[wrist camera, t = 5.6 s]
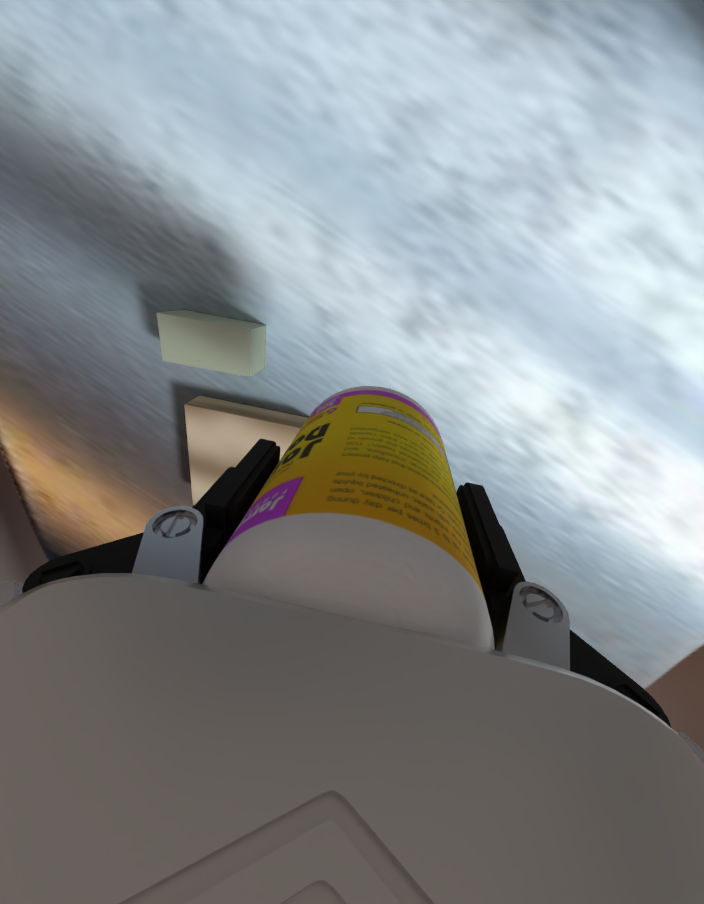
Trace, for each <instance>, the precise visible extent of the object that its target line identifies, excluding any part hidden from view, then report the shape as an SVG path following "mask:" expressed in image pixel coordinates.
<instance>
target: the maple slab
mask: <svg viewBox="0 0 704 904" xmlns="http://www.w3.org/2000/svg"><path fill="white" fill-rule="evenodd" d="M184 406H185V418H186V429H187V440H188V452H189V463H190V475H191V486H192V497H193V505H195V504H196V503H197V502H198V501H199V500H200V499H201V497H202V496H203V495H204V494H205V493H206V492H207V491H208V490H209V489H210V487H211V486H212V485H213V484H214V483H215V482H216V481H217V480H218V479H219V477H220V476H221V475H222V474H223V473H224V472H225V471H226V470H227V469H228V468H229V467H236V466H237V465H238V463H239V462H240V461H241V460H242V459H243V458H244V456H245V455H246V454H247V453H248V452H249V451H250V450H251V448H252V447H253V446H254V445H255V444H256V443H257V441H258V440H259V439H266V440H270V441H275V442H276V446H280V460H281V458H282V457H283V455H284V453H285V452H286V450H287V449H288V448H289V446H290V445H291V443H292V442H293V440H294V438H295V437H296V435H297V434H298V432H299V431H300V429H301V428H302V426H303V425H304V423H305V421H306V420H307V419H308V418H307V417H302V416H298V415H293V414H288V413H283V412H278V411H273V410H268V409H264V408H259V407H254V406H249V405H244V404H239V403H234V402H229V401H225V400H220V399H215V398H210V397H205V396H198V397H196V398H194V399H193V400H191V401H189V402H188V403H186V404H184Z"/></svg>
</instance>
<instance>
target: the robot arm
mask: <svg viewBox="0 0 704 904" xmlns="http://www.w3.org/2000/svg"><path fill="white" fill-rule="evenodd" d="M279 462H280V446H276V442H275V441H270V440H266V439H259V440H258V441H257V443H256V444H255V445H254V446H253V447H252V448H251V450H250V451H249V452H248V453H247V454H246V455H245V456H244V458H243V459H242V460H241V461H240V462H239V463H238V465H237V466H236V467H229V468H228V469H227V470H226V471H225V472H224V473H223V474H222V475H221V476H220V477H219V479H218V480H217V481H216V482H215V483H214V484H213V485H212V486H211V487H210V489H209V490H208V491H207V492H206V493H205V494H204V495H203V496H202V497H201V499H200V500H199V501H198V502H197V503H196V504H195V505H194V506H193V507H192V508H190V507H181V506H178V507H172V508H168V509H165V510H162V511H160V512H158V513H157V514H155V515H154V516H153V517H152V518H150V519H149V521H148V523H147V524H146V527H145V530H144V533H140V534H137V535H133V536H130V537H126V538H123V539H120V540H116V541H113V542H109V543H106V544H102V545H99V546H96V547H92V548H89V549H85V550H82V551H78V552H75V553H71V554H68V555H65V556H61V557H59V558H56V559H53V560H51V561H49V562H47V563H45V564H44V565H42V566H40V567H39V568H38V569H36V570H35V571H34V572H32V573H31V574H30V575H29V577H28V578H27V579H26V581H24V582H21V583H18V584H17V583H16V582H15V579H14V580H11V581H8V582H5V583H2V584H0V904H704V751H703V750H702V749H701V748H700V747H699V746H698V745H697V744H695V743H694V742H693V741H692V740H691V739H689V738H688V737H687V736H686V735H685V734H684V733H683V732H680V733H679V734H677V733H676V732H675V731H674V730H673V729H672V728H671V726H670V723H669V720H668V718H667V716H666V715H665V713H664V712H663V710H662V708H661V707H660V706H659V704H658V703H657V702H656V701H655V700H654V699H653V697H652V696H650V694H649V693H647V692H646V691H645V690H644V689H643V688H642V687H641V686H640V685H638V684H637V683H636V682H635V681H633V680H632V679H631V678H630V677H628V676H627V675H626V674H625V673H623V672H622V671H621V670H620V669H618V668H617V667H616V666H615V665H613V664H612V663H611V662H610V661H609V660H607V659H606V658H605V657H604V656H602V655H601V654H600V653H599V652H597V651H596V650H595V649H594V648H592V647H591V646H590V645H589V644H587V643H586V642H585V641H584V640H582V639H581V638H580V637H579V636H577V635H576V634H575V633H574V632H572V631H571V630H570V619H569V615H568V612H567V610H566V608H565V606H564V605H563V603H562V602H561V601H560V600H559V599H558V598H557V597H556V596H555V595H554V594H553V593H552V592H550V591H549V590H547V589H546V588H544V587H542V586H540V585H538V584H535V583H532V582H526V581H525V579H524V576H523V574H522V572H521V569H520V567H519V565H518V562H517V560H516V558H515V555H514V553H513V551H512V549H511V546H510V544H509V542H508V539H507V537H506V535H505V532H504V530H503V528H502V527H501V526H500V525H499V522H498V520H497V518H496V515H495V513H494V511H493V508H492V506H491V503H490V501H489V499H488V496H487V494H486V492H485V489H484V487H483V486H481V485H477V484H472V483H466V484H465V485H464V486H463V485H460V486H459V488H458V490H457V493H456V494H457V497H458V502H459V506H460V509H461V513H462V517H463V521H464V524H465V528H466V532H467V536H468V539H469V543H470V547H471V551H472V554H473V558H474V562H475V565H476V569H477V573H478V576H479V580H480V583H481V587H482V590H483V594H484V597H485V601H486V604H487V608H488V613H489V617H490V621H491V624H492V628H493V636H494V646H495V650H492V649H488V648H484V647H480V646H475V645H471V644H467V643H462V642H458V641H454V640H449V639H445V638H441V637H436V636H432V635H428V634H424V633H419V632H415V631H411V630H406V629H401V628H396V627H392V626H387V625H382V624H378V623H373V622H369V621H364V620H360V619H355V618H351V617H346V616H342V615H338V614H333V613H329V612H325V611H321V610H317V609H313V608H308V607H304V606H300V605H295V604H291V603H286V602H281V601H277V600H272V599H268V598H263V597H259V596H254V595H250V594H245V593H240V592H236V591H231V590H227V589H222V588H217V587H212V586H207V585H202V583H203V581H204V580H205V578H206V576H207V574H208V572H209V570H210V569H211V567H212V565H213V564H214V562H215V561H216V559H217V558H218V556H219V554H220V553H221V551H222V550H223V548H224V547H225V545H226V544H227V542H228V541H229V539H230V538H231V536H232V535H233V533H234V532H235V530H236V529H237V527H238V526H239V524H240V522H241V521H242V519H243V518H244V516H245V515H246V513H247V511H248V510H249V508H250V507H251V505H252V504H253V502H254V500H255V499H256V497H257V496H258V494H259V493H260V491H261V489H262V488H263V486H264V485H265V483H266V481H267V480H268V478H269V477H270V475H271V474H272V472H273V471H274V469H275V468H276V466H277V465H278V463H279Z"/></svg>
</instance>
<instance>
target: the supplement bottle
mask: <svg viewBox="0 0 704 904" xmlns="http://www.w3.org/2000/svg"><path fill="white" fill-rule="evenodd" d="M202 585H207V586H212V587H217V588H222V589H227V590H231V591H236V592H240V593H245V594H250V595H254V596H259V597H263V598H268V599H272V600H277V601H281V602H286V603H291V604H295V605H300V606H304V607H308V608H313V609H317V610H321V611H325V612H329V613H333V614H338V615H342V616H346V617H351V618H355V619H360V620H364V621H369V622H373V623H378V624H382V625H387V626H392V627H396V628H401V629H406V630H411V631H415V632H419V633H424V634H428V635H432V636H436V637H441V638H445V639H449V640H454V641H458V642H462V643H467V644H471V645H475V646H480V647H484V648H488V649H492V650H495V646H494V636H493V628H492V624H491V621H490V617H489V613H488V608H487V604H486V601H485V597H484V594H483V590H482V587H481V583H480V580H479V576H478V573H477V569H476V565H475V562H474V558H473V554H472V551H471V547H470V543H469V539H468V536H467V532H466V528H465V524H464V521H463V517H462V513H461V509H460V506H459V502H458V497H457V494H456V490H455V486H454V482H453V479H452V475H451V471H450V467H449V464H448V461H447V457H446V453H445V449H444V445H443V442H442V439H441V436H440V433H439V430H438V428H437V426H436V424H435V422H434V421H433V419H432V418H431V416H430V415H429V414H428V413H427V411H426V410H425V409H424V408H423V407H422V406H421V405H420V404H418V403H417V402H416V401H414V400H413V399H411V398H410V397H408V396H406V395H404V394H402V393H400V392H397V391H394V390H391V389H388V388H383V387H375V386H361V387H354V388H350V389H346V390H343V391H341V392H338V393H336V394H334V395H332V396H330V397H329V398H327V399H326V400H324V401H323V402H322V403H321V404H319V405H318V406H317V407H316V408H315V409H314V411H313V412H312V413H311V415H310V416H309V417H308V419H307V420H306V421H305V423H304V425H303V426H302V428H301V429H300V431H299V432H298V434H297V435H296V437H295V438H294V440H293V442H292V443H291V445H290V446H289V448H288V449H287V450H286V452H285V453H284V455H283V457H282V458H281V460H280V462H279V463H278V465H277V466H276V468H275V469H274V471H273V472H272V474H271V475H270V477H269V478H268V480H267V481H266V483H265V485H264V486H263V488H262V489H261V491H260V493H259V494H258V496H257V497H256V499H255V500H254V502H253V504H252V505H251V507H250V508H249V510H248V511H247V513H246V515H245V516H244V518H243V519H242V521H241V522H240V524H239V526H238V527H237V529H236V530H235V532H234V533H233V535H232V536H231V538H230V539H229V541H228V542H227V544H226V545H225V547H224V548H223V550H222V551H221V553H220V554H219V556H218V558H217V559H216V561H215V562H214V564H213V565H212V567H211V569H210V570H209V572H208V574H207V576H206V578H205V580H204V581H203V583H202Z"/></svg>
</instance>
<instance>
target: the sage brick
mask: <svg viewBox="0 0 704 904" xmlns="http://www.w3.org/2000/svg"><path fill="white" fill-rule="evenodd" d="M157 321H158V328H159V336H160V344H161V351H162V359H163V361H166V362H171V363H177V364H182V365H187V366H192V367H198V368H203V369H208V370H214V371H219V372H224V373H230V374H235V375H240V376H245V377H252V376H253V375H255V374H256V373H258V372H259V371H261V370H262V369H264V368H265V353H266V325H263V324H258V323H252V322H247V321H242V320H236V319H231V318H225V317H220V316H215V315H209V314H204V313H198V312H193V311H188V310H175V311H167V312H158V313H157Z"/></svg>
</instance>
